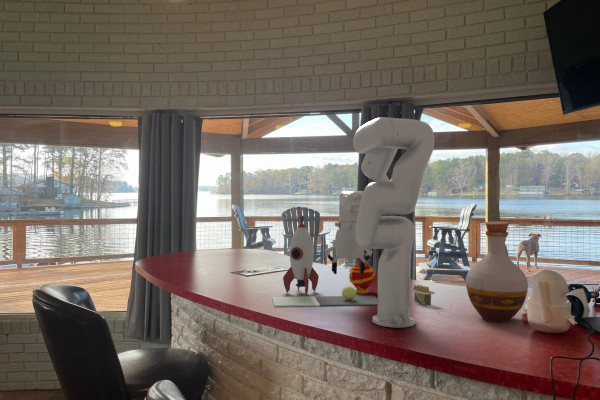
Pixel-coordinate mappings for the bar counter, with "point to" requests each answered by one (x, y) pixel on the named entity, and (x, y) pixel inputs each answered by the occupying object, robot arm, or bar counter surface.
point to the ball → (348, 292)
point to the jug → (496, 279)
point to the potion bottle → (362, 277)
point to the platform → (422, 294)
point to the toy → (301, 260)
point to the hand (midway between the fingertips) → (348, 273)
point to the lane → (324, 301)
